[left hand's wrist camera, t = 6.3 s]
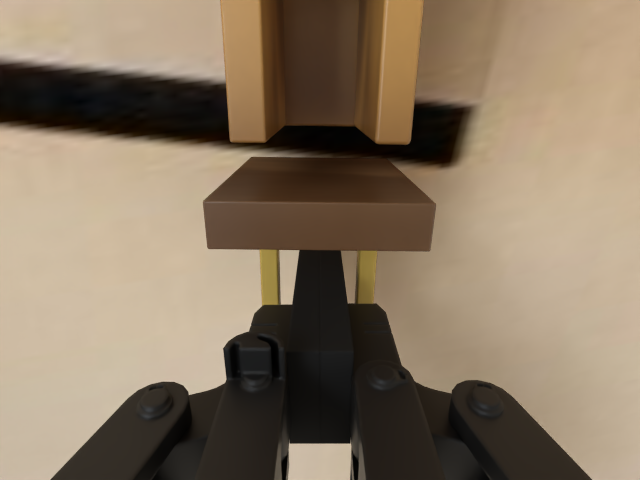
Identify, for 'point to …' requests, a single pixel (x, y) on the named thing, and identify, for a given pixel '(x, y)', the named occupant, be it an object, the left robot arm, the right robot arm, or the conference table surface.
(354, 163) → the drawer
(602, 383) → the conference table surface
